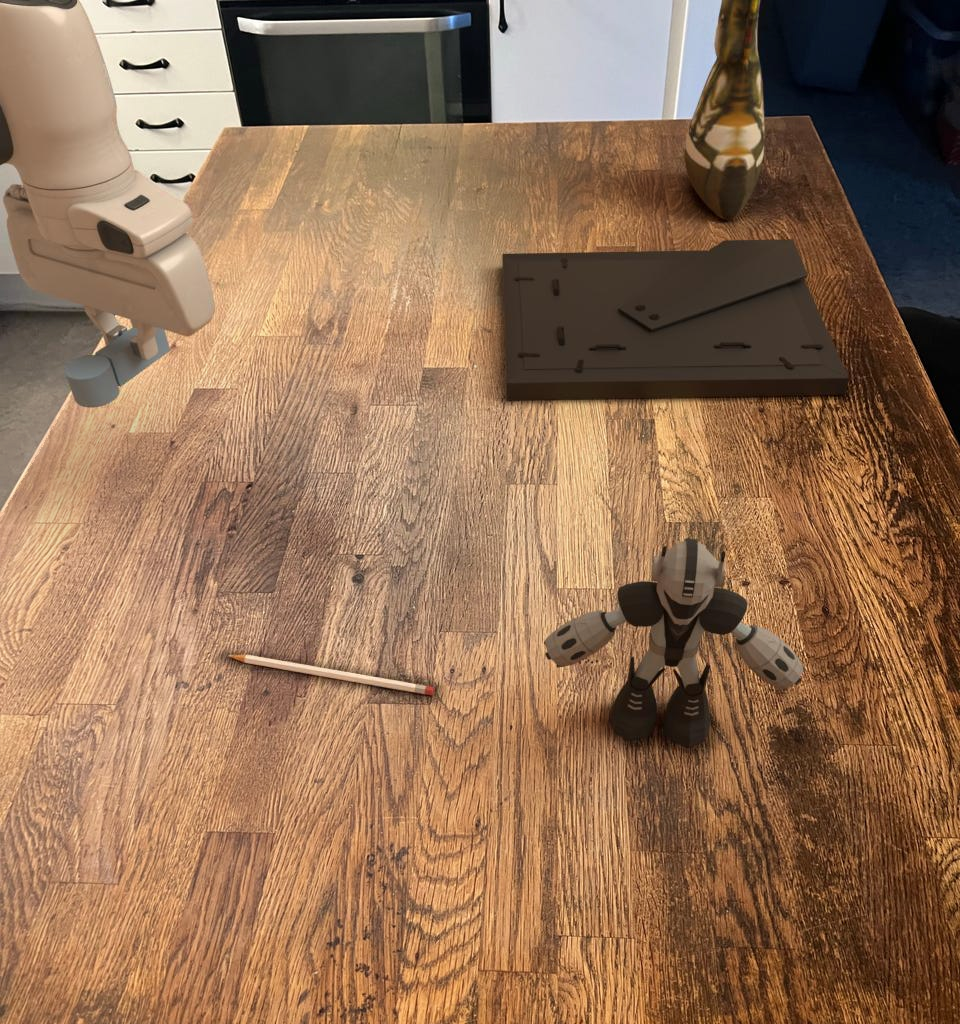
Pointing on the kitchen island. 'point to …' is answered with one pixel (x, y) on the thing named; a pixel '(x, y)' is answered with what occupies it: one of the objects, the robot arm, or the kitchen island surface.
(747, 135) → the statue
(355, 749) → the kitchen island surface
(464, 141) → the kitchen island surface
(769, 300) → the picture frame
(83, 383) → the grey mallet
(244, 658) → the pencil
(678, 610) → the robot
